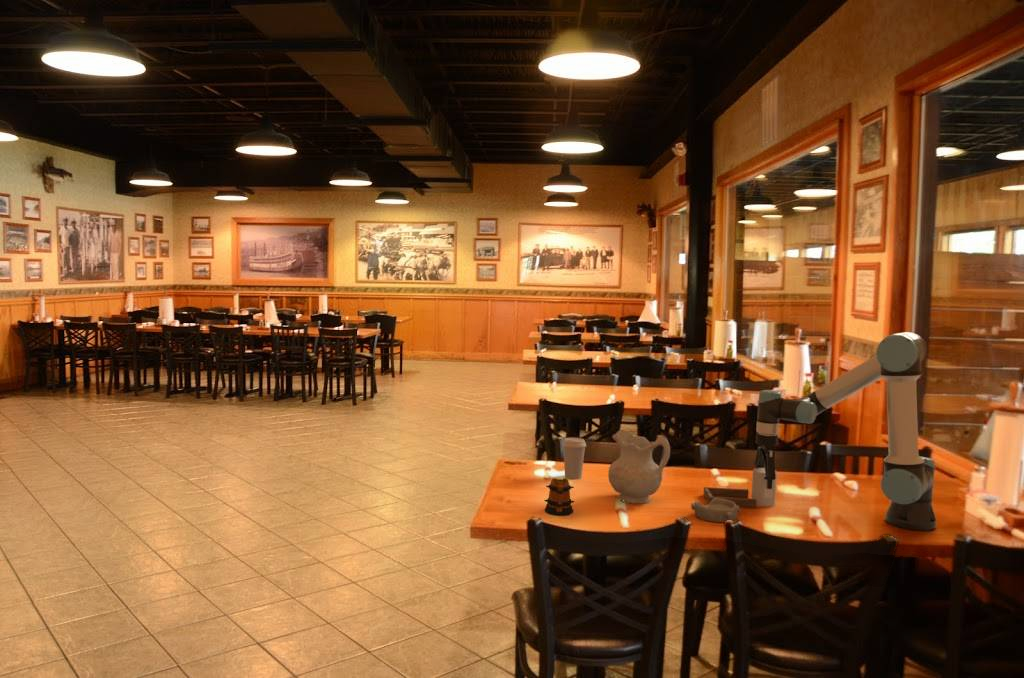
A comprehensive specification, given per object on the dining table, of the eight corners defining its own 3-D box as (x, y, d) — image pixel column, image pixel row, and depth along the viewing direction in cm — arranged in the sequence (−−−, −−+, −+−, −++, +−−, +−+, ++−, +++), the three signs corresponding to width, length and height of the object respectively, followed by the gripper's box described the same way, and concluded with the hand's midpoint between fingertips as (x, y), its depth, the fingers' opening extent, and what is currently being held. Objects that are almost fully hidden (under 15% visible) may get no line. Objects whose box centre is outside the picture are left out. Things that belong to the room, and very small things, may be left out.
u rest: (756, 508, 273) (756, 500, 273) (709, 506, 275) (710, 497, 274) (747, 497, 287) (747, 489, 286) (703, 495, 288) (703, 487, 288)
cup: (771, 500, 283) (773, 468, 282) (777, 507, 275) (779, 474, 274) (749, 499, 284) (751, 467, 283) (753, 506, 276) (755, 472, 275)
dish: (686, 516, 263) (687, 502, 262) (708, 508, 272) (709, 494, 272) (724, 527, 252) (725, 512, 252) (746, 518, 262) (747, 504, 262)
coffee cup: (556, 475, 310) (557, 437, 308) (577, 473, 314) (579, 436, 312) (568, 481, 301) (569, 443, 300) (589, 479, 305) (591, 441, 304)
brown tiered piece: (543, 506, 269) (545, 473, 268) (573, 507, 268) (574, 474, 267) (543, 518, 256) (544, 484, 255) (574, 519, 255) (576, 485, 254)
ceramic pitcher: (670, 498, 286) (673, 431, 285) (666, 510, 267) (669, 437, 267) (611, 492, 292) (614, 426, 291) (603, 503, 273) (606, 432, 272)
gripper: (787, 442, 265) (783, 502, 267) (769, 426, 290) (765, 482, 292) (765, 440, 265) (760, 501, 267) (748, 425, 290) (744, 481, 292)
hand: (763, 491), depth 280 cm, fingers open, 13 cm apart
